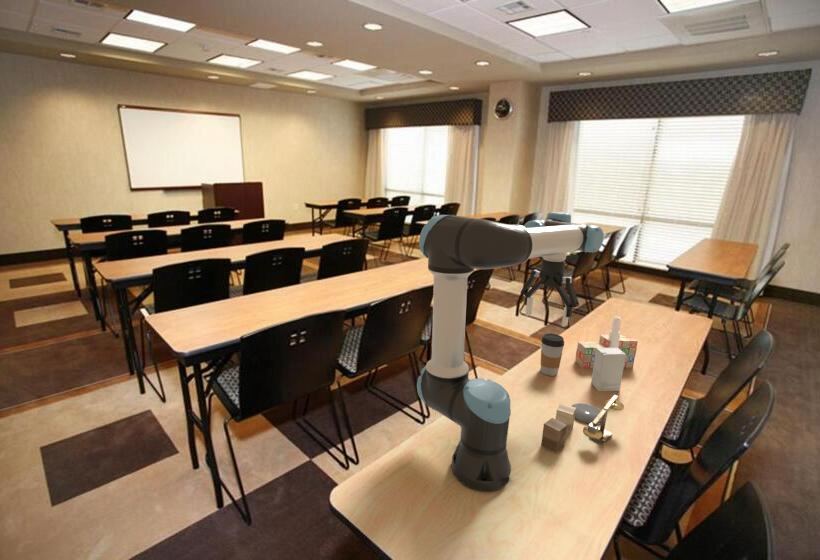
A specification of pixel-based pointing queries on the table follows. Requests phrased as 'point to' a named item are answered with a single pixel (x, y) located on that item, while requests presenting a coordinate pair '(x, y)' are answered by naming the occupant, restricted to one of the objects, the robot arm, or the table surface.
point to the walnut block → (554, 435)
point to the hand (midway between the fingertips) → (545, 320)
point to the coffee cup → (551, 354)
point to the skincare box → (608, 369)
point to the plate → (586, 413)
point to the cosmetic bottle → (615, 332)
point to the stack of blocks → (588, 349)
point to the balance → (602, 422)
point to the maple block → (566, 416)
